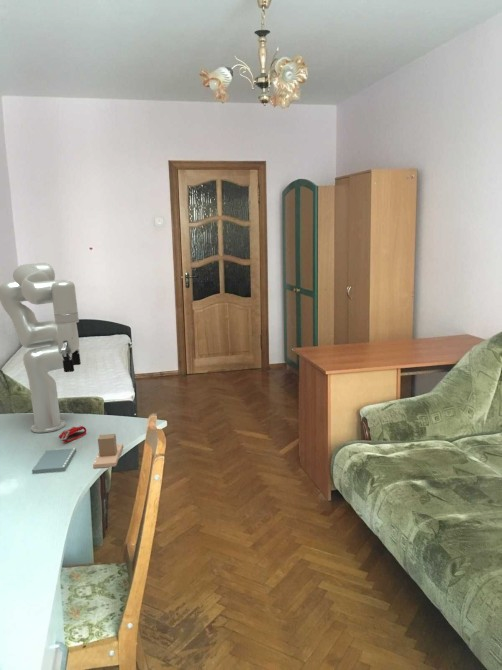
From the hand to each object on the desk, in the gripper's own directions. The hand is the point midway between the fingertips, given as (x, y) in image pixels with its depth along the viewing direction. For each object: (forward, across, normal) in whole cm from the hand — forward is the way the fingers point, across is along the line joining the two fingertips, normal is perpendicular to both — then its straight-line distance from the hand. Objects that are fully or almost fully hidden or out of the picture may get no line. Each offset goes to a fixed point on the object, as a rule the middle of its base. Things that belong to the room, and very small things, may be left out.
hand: (72, 368), depth 188 cm
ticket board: (+28, +12, -6) cm, 31 cm away
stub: (+28, +12, +11) cm, 33 cm away
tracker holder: (+29, -10, -7) cm, 31 cm away
